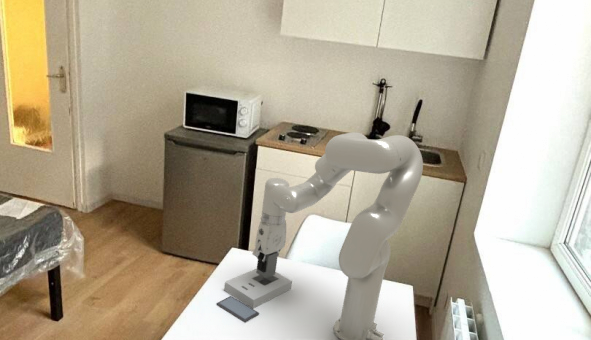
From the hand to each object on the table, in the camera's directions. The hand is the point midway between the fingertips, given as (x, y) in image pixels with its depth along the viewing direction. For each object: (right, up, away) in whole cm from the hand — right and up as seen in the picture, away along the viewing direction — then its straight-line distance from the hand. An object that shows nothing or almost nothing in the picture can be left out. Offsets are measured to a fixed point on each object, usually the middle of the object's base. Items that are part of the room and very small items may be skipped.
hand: (266, 267), depth 158 cm
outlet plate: (-3, -7, 0) cm, 8 cm away
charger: (0, -2, +1) cm, 2 cm away
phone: (-8, -11, -12) cm, 18 cm away
